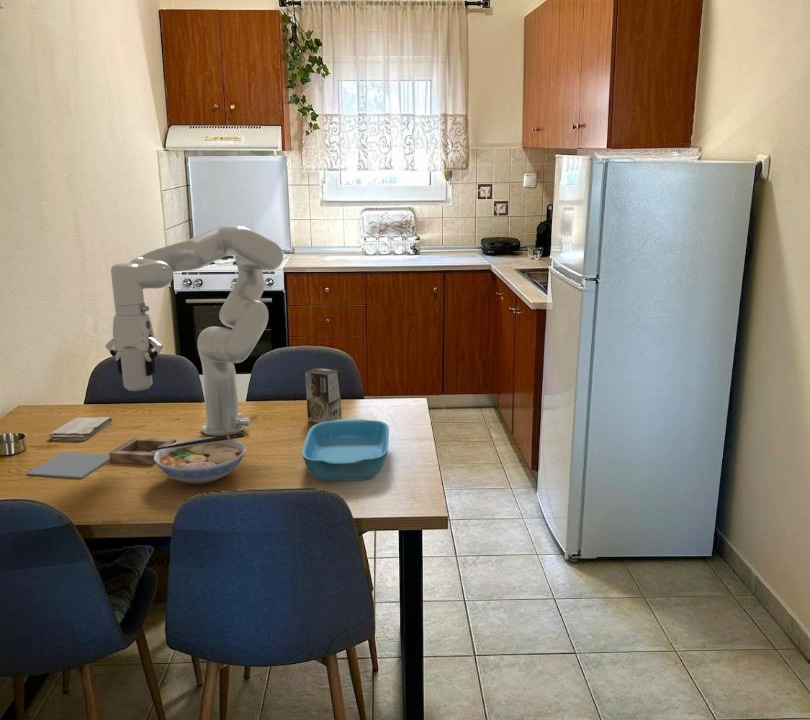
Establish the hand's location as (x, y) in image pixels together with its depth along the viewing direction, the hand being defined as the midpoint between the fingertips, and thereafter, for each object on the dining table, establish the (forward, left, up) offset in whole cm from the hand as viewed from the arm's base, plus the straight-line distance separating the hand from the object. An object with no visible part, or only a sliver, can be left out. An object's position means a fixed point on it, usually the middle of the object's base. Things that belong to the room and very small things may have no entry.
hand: (137, 373), depth 217 cm
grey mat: (+15, +11, -23) cm, 30 cm away
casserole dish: (-57, -3, -24) cm, 62 cm away
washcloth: (+30, -16, -24) cm, 41 cm away
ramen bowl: (-24, +14, -23) cm, 36 cm away
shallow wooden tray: (0, 0, -23) cm, 23 cm away
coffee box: (-41, -37, -23) cm, 60 cm away
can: (0, 0, -4) cm, 4 cm away
